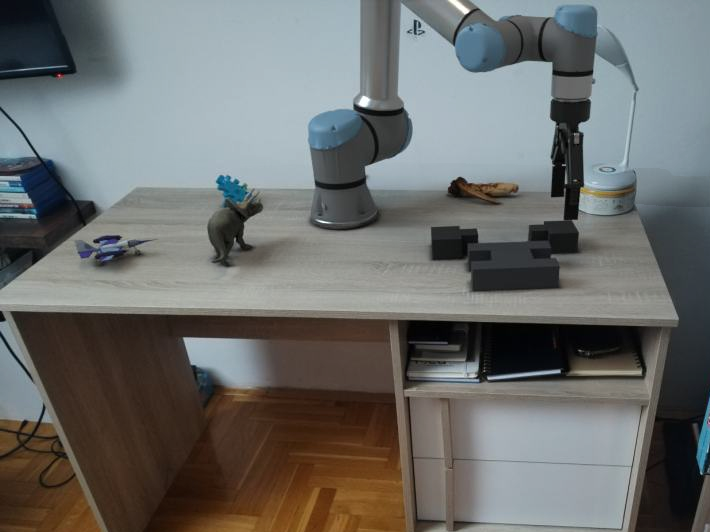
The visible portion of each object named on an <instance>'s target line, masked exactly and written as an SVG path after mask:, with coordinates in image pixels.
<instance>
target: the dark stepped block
mask: <svg viewBox="0 0 710 532" xmlns="http://www.w3.org/2000/svg"><path fill="white" fill-rule="evenodd" d="M579 237H580V231H579V230H578V228H577V227H576V225H575V223H574V220H564V219H563V220H544V221H543V223H542V224H529V225H528V235H527V241H548V242H549V244H550V246H551V254H574V253H578V249H579V248H578V247H579V239H580V238H579Z"/></svg>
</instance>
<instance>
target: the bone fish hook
mask: <svg viewBox="0 0 710 532" xmlns="http://www.w3.org/2000/svg"><path fill="white" fill-rule="evenodd" d="M519 186H520V185H519V184H517V183H511V182H488V183H473V182H468V181H467V180H466V178H464V177H462V176H458V177H457V178H456V179H453V180H451V181H450V185H449V186H447V194H449V195H451V196H455V198H458V197H465V198H468V197H471V198H476V199H478V200H481V201H484V202H486V203H489V204H493V205H500V204H501V202H500V201H499V200H496V199H495V198H492V197H499V196H500V197H502V196H509V195H512V193H514V194H516V193H518V191H519Z"/></svg>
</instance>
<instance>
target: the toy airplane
mask: <svg viewBox="0 0 710 532" xmlns="http://www.w3.org/2000/svg"><path fill="white" fill-rule="evenodd" d="M122 238H123V236H122V235H120V234H114V235H113V234H111V235H109V234H108V235H107V234H106V235H101V236H99V237H97V238H94V239H92V243H93V244H99V246H96V247H94V246H92V245H91V244H89V243H88V242H86V241H84V240H82V239H78V240H77V239H76V240H74V244H75V247H76V250H77V254H78V255H79V257H80V259H86V258H90V257H91V255H92V254H93V253H95V255H94V257H93V258H94V259H95V264H96V265H97V266H101V265H102V263H103V262H104V263H105V262H109V261H111V260H112V259H115V258H119V257H122V256H124V254H126V253H127V252H129V251H130V250H129V249H131V248H133V249H134V250H135V251H134V253H135V255H137V256H138V255H141V253H142V252H141V250H140V249H138V248H137V246H140V245H142V244H144V243H148V242H151V241H152V242H153V241H157V240H158V238H155V239H143V240H142V239H140V238H135V237H132V238H129V239H126V240H123V241H121V239H122Z"/></svg>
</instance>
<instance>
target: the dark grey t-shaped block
mask: <svg viewBox="0 0 710 532" xmlns="http://www.w3.org/2000/svg"><path fill="white" fill-rule="evenodd" d="M430 237H431V239H430V240H431V242H430V243H431V257H432V258H431V259H432V260H433V261H435V260H436V261H439V260H462V259H463V256H468V243H479V232H478V228H461V226H460V225H446V226H445V225H444V226H443V225H442V226H430Z"/></svg>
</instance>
